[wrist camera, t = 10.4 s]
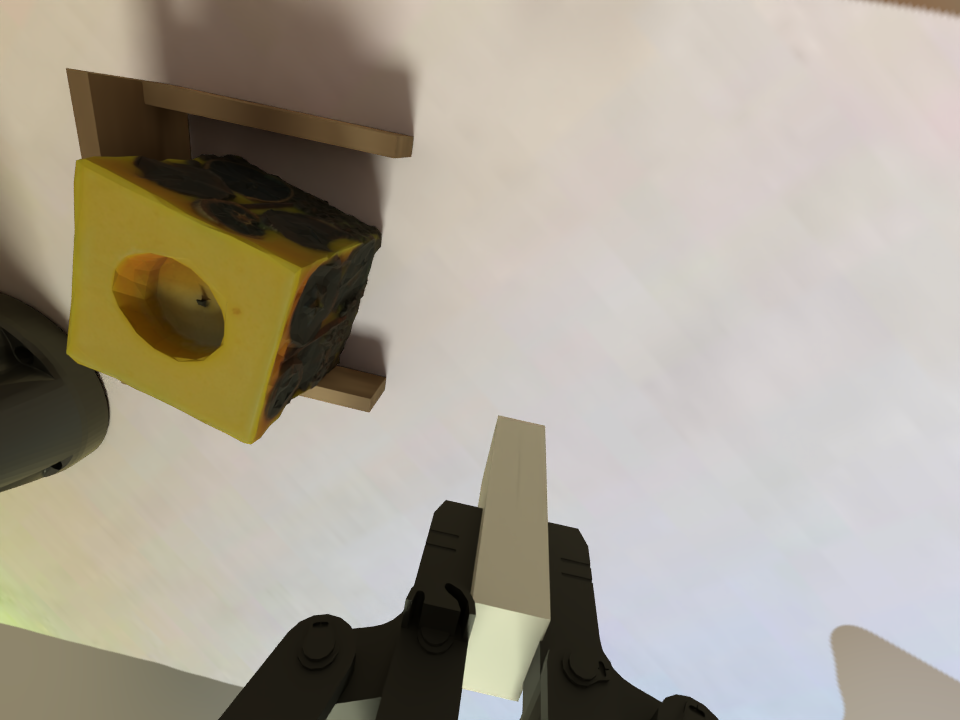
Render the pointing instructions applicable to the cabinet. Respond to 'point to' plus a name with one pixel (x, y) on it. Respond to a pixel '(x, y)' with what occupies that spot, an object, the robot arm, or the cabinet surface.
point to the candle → (212, 284)
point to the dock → (165, 135)
